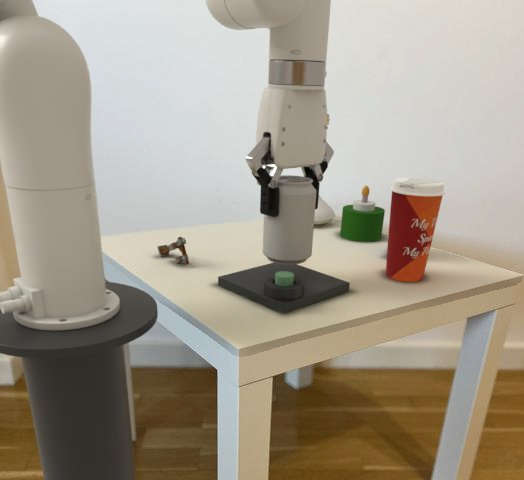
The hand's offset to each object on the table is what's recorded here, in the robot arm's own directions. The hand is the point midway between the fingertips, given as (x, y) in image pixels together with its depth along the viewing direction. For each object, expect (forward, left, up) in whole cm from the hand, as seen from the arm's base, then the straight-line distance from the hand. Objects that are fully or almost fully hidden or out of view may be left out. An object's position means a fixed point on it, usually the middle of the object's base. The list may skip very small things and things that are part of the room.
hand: (289, 210), depth 80 cm
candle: (+31, +10, -11) cm, 35 cm away
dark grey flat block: (-3, -2, -11) cm, 11 cm away
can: (0, 0, -7) cm, 7 cm away
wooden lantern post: (-8, +19, -11) cm, 23 cm away
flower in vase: (+31, +25, -11) cm, 42 cm away
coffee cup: (+17, -10, -11) cm, 23 cm away
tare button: (-7, -6, -8) cm, 12 cm away
